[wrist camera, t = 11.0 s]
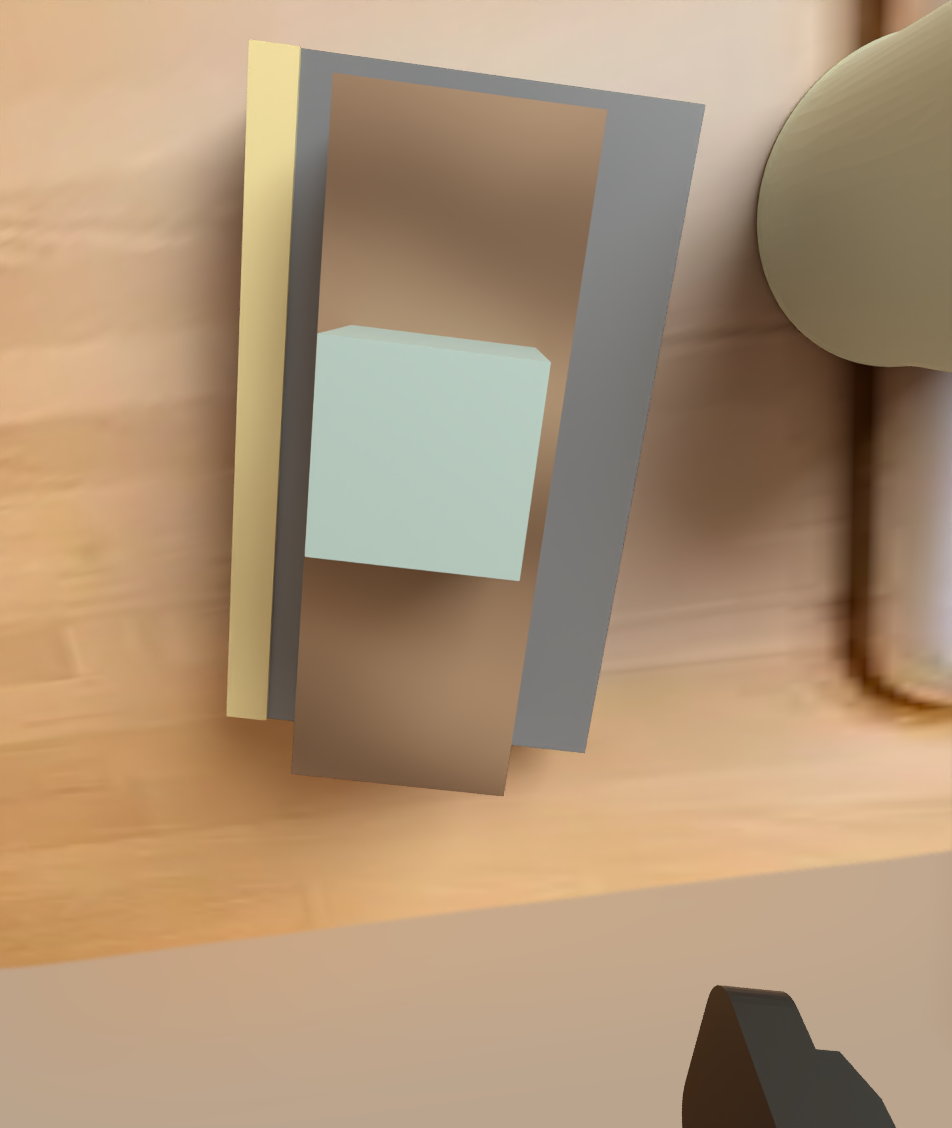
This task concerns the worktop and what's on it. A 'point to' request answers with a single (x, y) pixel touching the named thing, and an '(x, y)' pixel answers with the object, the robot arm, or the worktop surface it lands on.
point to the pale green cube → (423, 451)
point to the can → (868, 203)
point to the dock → (591, 401)
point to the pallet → (452, 309)
